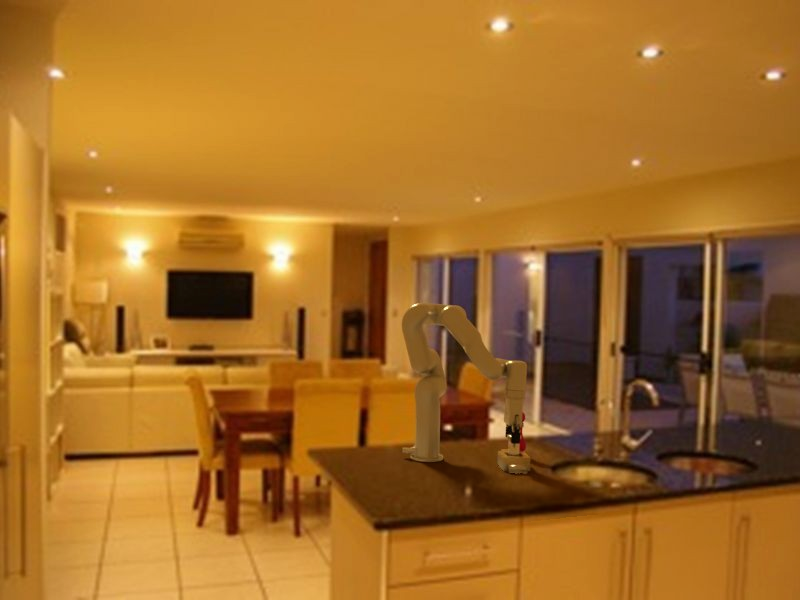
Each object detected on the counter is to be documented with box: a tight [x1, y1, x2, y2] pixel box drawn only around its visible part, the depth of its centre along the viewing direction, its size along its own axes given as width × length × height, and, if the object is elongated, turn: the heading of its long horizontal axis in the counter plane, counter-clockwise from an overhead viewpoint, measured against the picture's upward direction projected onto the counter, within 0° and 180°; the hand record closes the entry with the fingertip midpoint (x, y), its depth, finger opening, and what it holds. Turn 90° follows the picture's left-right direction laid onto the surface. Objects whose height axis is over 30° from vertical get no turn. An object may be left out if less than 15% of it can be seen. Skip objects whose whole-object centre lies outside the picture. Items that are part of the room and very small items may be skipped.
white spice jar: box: [507, 434, 521, 456], centre depth 254 cm, size 5×5×12 cm
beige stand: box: [497, 448, 531, 475], centre depth 253 cm, size 10×17×5 cm, turn 3°
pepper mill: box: [507, 411, 527, 452], centre depth 271 cm, size 7×7×20 cm
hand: (512, 440), depth 254 cm, fingers open, 9 cm apart
